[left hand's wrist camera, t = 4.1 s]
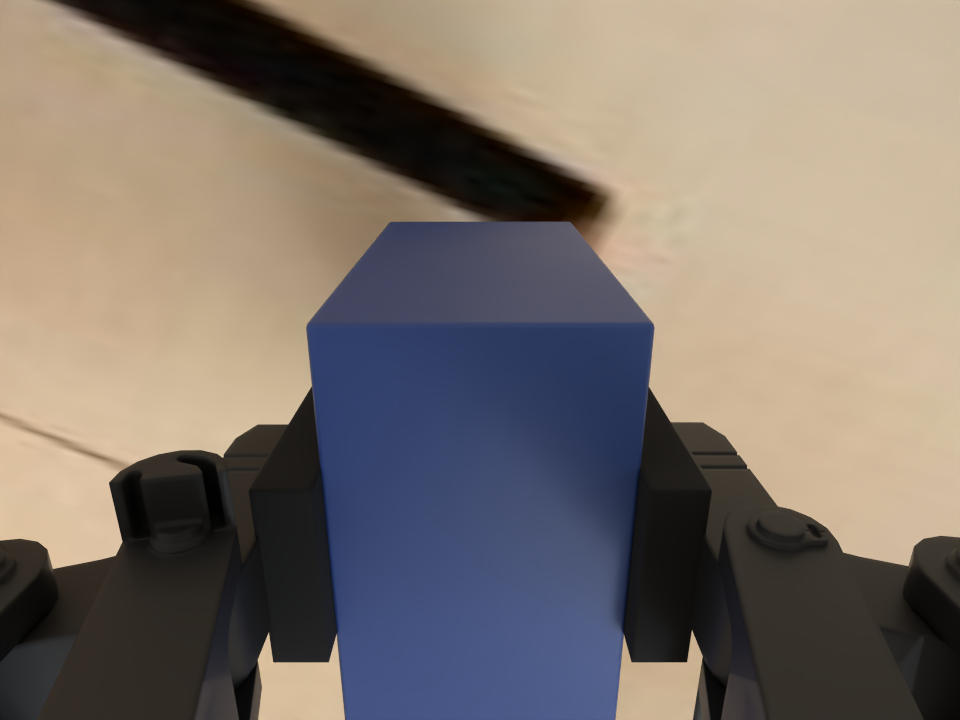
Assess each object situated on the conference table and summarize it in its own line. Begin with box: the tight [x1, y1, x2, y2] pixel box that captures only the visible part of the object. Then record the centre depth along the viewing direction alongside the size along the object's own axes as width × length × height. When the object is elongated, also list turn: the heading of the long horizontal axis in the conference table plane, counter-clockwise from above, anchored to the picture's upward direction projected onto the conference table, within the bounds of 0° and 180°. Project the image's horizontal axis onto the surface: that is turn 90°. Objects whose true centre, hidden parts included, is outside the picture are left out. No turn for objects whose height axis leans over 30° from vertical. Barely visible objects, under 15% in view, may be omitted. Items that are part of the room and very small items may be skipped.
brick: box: [306, 222, 654, 720], centre depth 12 cm, size 4×7×8 cm, turn 0°
